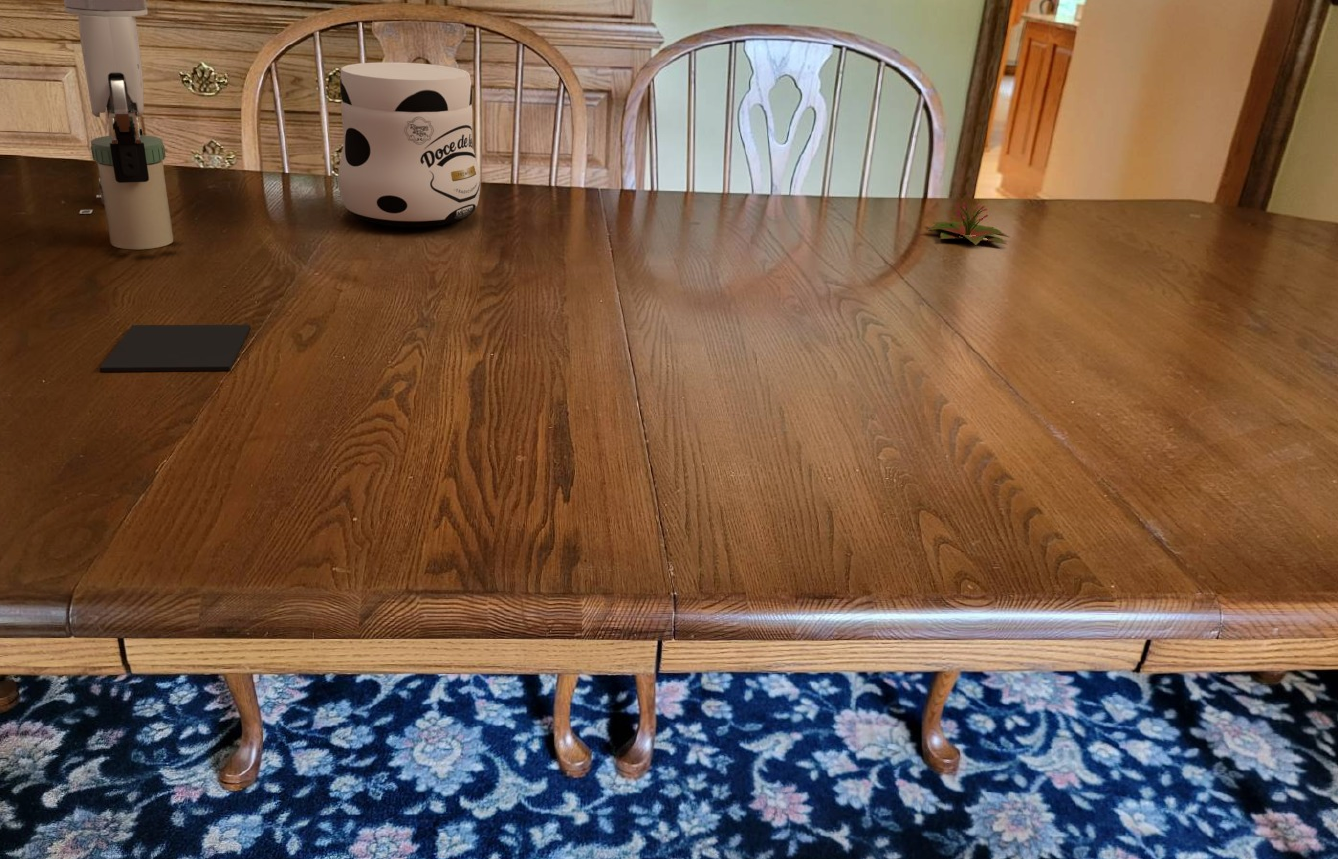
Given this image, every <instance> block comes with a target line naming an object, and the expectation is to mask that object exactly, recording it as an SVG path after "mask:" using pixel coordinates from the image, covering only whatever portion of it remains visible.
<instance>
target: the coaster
mask: <svg viewBox="0 0 1338 859" xmlns="http://www.w3.org/2000/svg"><path fill="white" fill-rule="evenodd" d="M250 330H251V324H132V325H131V326H130V327H129V329H127V331H126V332H125V334H124V336H123V337H122V338H121V339H120V340H119V341H118V343H117V344H116V345H115V347H114V348H113V350H112V351H111V352H110V353H109V354H108V356H106V359H104V361H103V362H102V363H101V365H100V366H99V373H124V372H125V373H126V372H129V373H133V372H137V373H138V372H139V373H141V372H230V371H231V370H232V368H233V365H234V363H235V361H236V359H237V357H238V355H239V354H240V351H241V349H242V347H243V345H244V343H245V341H246V339H247V337H248V335H249V333H250Z"/></svg>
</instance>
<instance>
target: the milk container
mask: <svg viewBox="0 0 1338 859" xmlns="http://www.w3.org/2000/svg"><path fill="white" fill-rule="evenodd" d="M339 74H340V77H339V80H340V81H339V90H340V98H341V102H340V114H341V123H342V136H343V138H342V140H343V142H342V149H341V150H342V151H341V155H340V161H339V165H338V170H337V172H338V174H337V178H338V179H337V181H338V182H337V183H338V188H339V193H340V197H341V198H340V199H341V201H342V204H343V206H344V207H345V209H346V210H347V212H349V213H350V214H351V215H353V216H354V217H356V218H358V219H360V220H361V221H366V222H370V223H373V224H377V225H381V226H391V227H392V226H393V227H397V228H424V227H438V226H443V225H447V224H453V223H457V222H459V221H462V220H465V219H467V218H468V217H469V216H471V215H472V214H473V213H474V212H475V211H476V208H477V207H478V205H479V199H480V195H481V173H480V169H479V165H478V162H477V157H476V154H475V150H474V143H473V106H472V105H473V87H472V79H471V74H470V73H469V72H468V71H467V70H465V69H462V68H458V67H453V66H447V65H440V64H431V63H430V64H429V63H418V62H401V61H400V62H398V61H397V62H394V61H393V62H391V61H388V62H387V61H386V62H385V61H384V62H381V61H380V62H378V61H377V62H360V63H353V64H347V65H345V66H342V67H341V68H340V73H339Z"/></svg>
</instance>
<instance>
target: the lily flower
mask: <svg viewBox="0 0 1338 859" xmlns="http://www.w3.org/2000/svg"><path fill="white" fill-rule="evenodd" d="M962 205H963V207H962V206H961V205H960V204H959V203H956V206H957V207H958V208H960V209H961V211H962V212H963V213H964V215H965V216H966V217H965V216H963V215H962V213H961V211H960V209H957V213H956V217H959V218H961V220H962V222H959V221H955V220H954V221H952V222H947V221H931V223H932V224H933V225H932V226H930V228H925V231H942V232H941V233H940V238H939V239H940V240H944V239H946V240H947V239H959V238H958V237H959V235H958V234H960V236H961V235H963V234H965V235H970V234H971V235H976V236H972V237H969V236H965V235H963V236H962V237H965V238H960V239H963V240H969V241H970V242H972V243H973V244H974V245H975V246H977V245H978V244H979V243H980V241H983V240H982V239H983V238H987V239H988V241H987V240H984V241H986V242H993V243H997V244H1002V245H1007V246H1008V244H1009V243H1006V241H1004V239H1002V237H1006V238H1010V236H1009V235H1007V234H1006V233H1004V232H1002V231H1001V230H999V229H997V228H995V227H994V226H989V225H988V226H985V225H981V224H979V223H980V222H981V221H983V220H984V219H986V218H988V217H989V214H985V215H984V216H983V217H981V218H979V219H977V218H978V217H979V216H980V215H981V213H983V212H986V211H987V210H988V208H986V205H983V206H981V207H980V205H981V203H979V204H978V205H977V206H976V208H975V209H974V211H973V213H972V214H971V212H972V209H970V210H969V209H968V208H967V205H966V203H965V202H962ZM979 207H980V208H979ZM977 208H979V209H978V210H977ZM970 214H971V216H970ZM994 235H995V236H994ZM998 236H1001V237H998ZM998 242H1000V243H998Z"/></svg>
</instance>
